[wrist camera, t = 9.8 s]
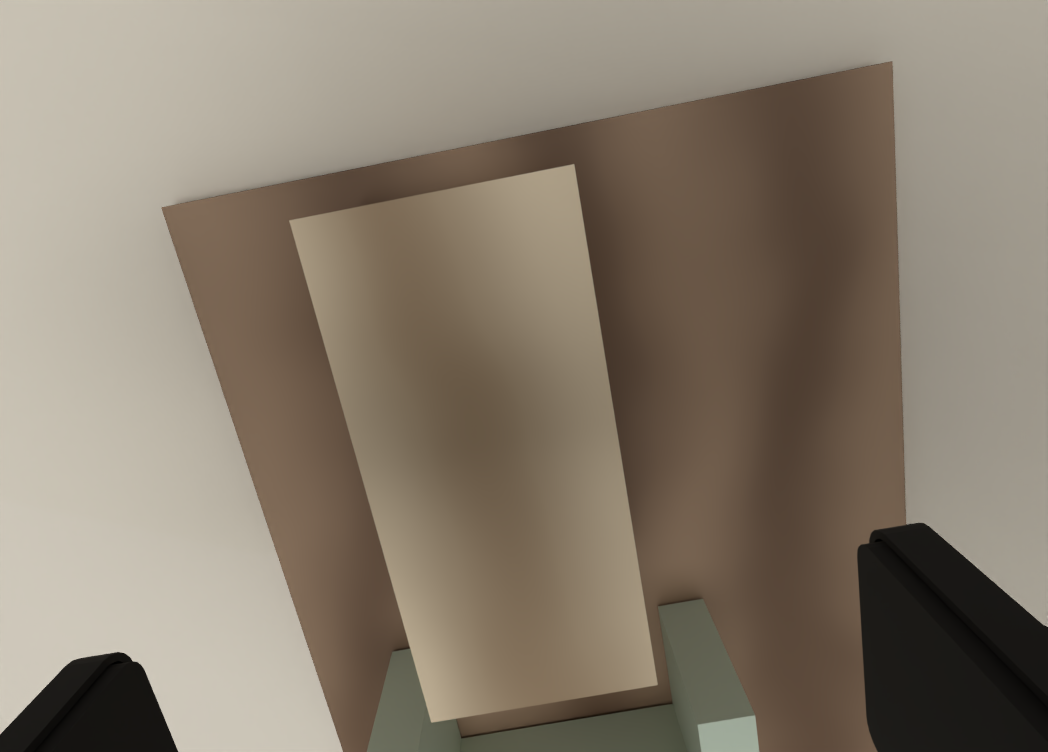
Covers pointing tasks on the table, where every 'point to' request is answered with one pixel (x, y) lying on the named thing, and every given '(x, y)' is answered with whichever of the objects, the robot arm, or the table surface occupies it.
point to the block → (608, 740)
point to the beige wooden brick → (486, 437)
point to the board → (628, 386)
